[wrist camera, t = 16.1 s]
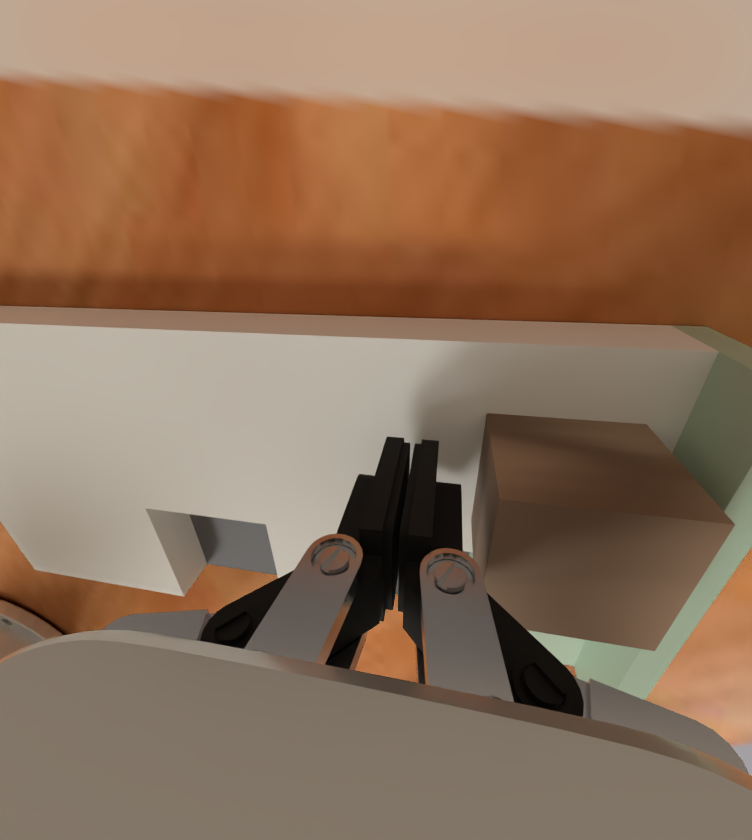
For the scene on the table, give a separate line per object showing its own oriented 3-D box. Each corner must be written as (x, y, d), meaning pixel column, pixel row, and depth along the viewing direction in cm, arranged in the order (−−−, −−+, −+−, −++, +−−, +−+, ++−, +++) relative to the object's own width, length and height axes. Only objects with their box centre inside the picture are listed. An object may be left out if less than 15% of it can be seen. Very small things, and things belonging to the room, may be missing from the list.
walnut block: (471, 519, 14) (476, 621, 10) (486, 412, 11) (499, 499, 8) (602, 534, 13) (654, 651, 10) (646, 424, 11) (735, 524, 7)
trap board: (72, 538, 24) (-11, 608, 20) (-70, 303, 17) (-250, 336, 12) (581, 618, 19) (618, 738, 15) (706, 326, 11) (856, 396, 7)
